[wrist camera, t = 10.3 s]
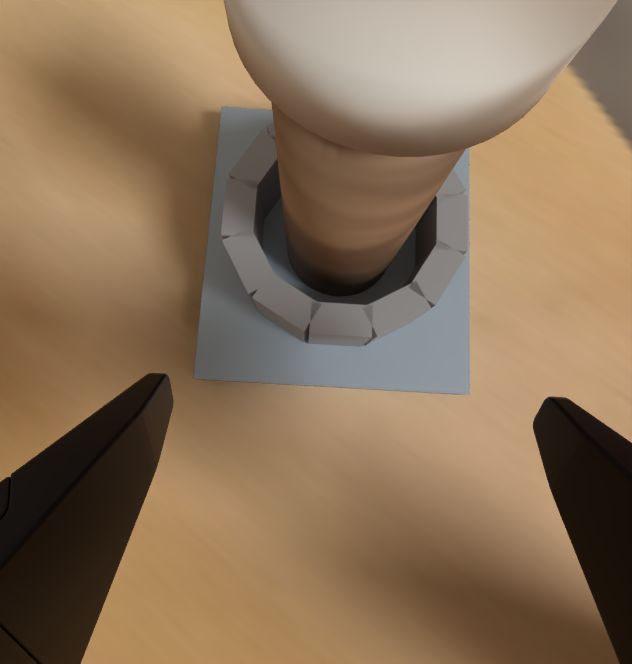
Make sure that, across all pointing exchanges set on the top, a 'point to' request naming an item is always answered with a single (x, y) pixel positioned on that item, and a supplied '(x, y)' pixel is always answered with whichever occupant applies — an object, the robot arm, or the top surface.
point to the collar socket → (320, 309)
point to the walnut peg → (390, 108)
